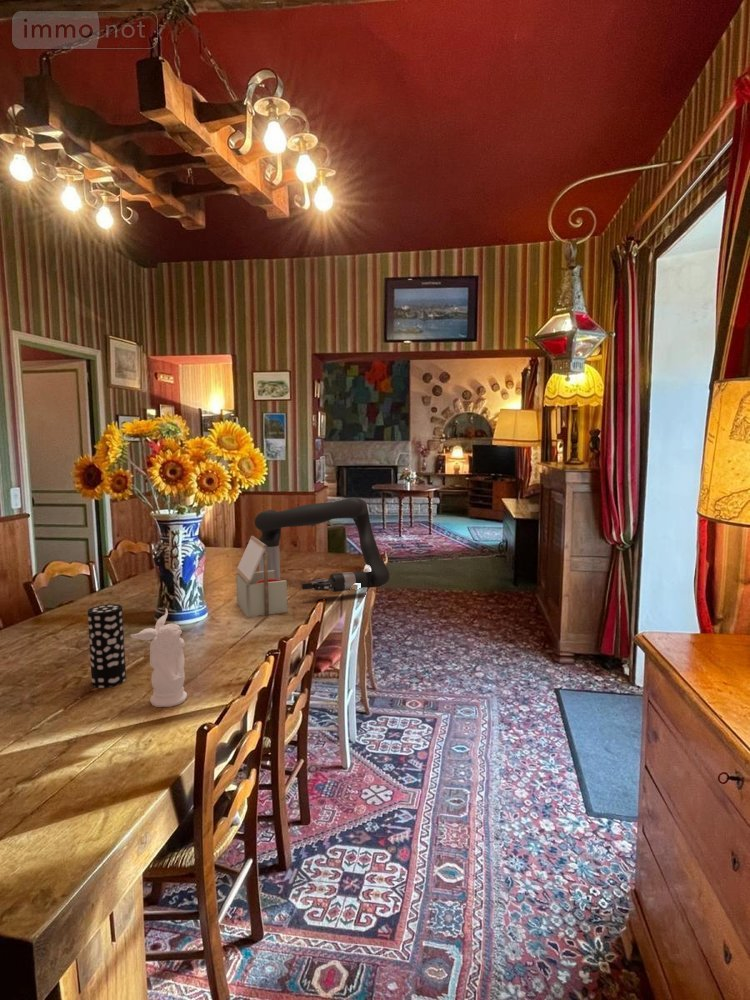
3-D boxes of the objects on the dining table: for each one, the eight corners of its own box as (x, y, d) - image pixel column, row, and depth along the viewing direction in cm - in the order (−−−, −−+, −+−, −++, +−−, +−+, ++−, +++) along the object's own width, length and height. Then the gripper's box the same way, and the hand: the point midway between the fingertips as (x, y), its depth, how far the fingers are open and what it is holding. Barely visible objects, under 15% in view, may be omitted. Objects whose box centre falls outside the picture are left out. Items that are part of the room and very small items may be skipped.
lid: (238, 571, 223) (235, 570, 223) (253, 536, 224) (251, 535, 224) (250, 583, 202) (247, 583, 202) (267, 545, 203) (264, 544, 203)
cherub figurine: (186, 708, 135) (182, 619, 132) (130, 715, 131) (125, 625, 128) (188, 686, 146) (184, 604, 143) (137, 692, 143) (132, 609, 140)
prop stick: (264, 615, 207) (262, 552, 204) (268, 614, 207) (266, 552, 205) (265, 616, 205) (263, 553, 203) (269, 615, 206) (267, 553, 204)
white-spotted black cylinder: (102, 674, 154) (97, 604, 152) (131, 675, 154) (127, 604, 152) (85, 687, 146) (80, 613, 144) (116, 688, 145) (112, 613, 143)
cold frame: (237, 603, 222) (236, 573, 221) (274, 598, 229) (273, 570, 227) (247, 617, 204) (246, 585, 203) (287, 612, 210) (286, 581, 209)
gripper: (336, 569, 235) (297, 573, 228) (348, 576, 223) (306, 580, 216) (337, 587, 236) (297, 591, 229) (348, 594, 224) (307, 599, 217)
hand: (302, 586), depth 222 cm, fingers closed
